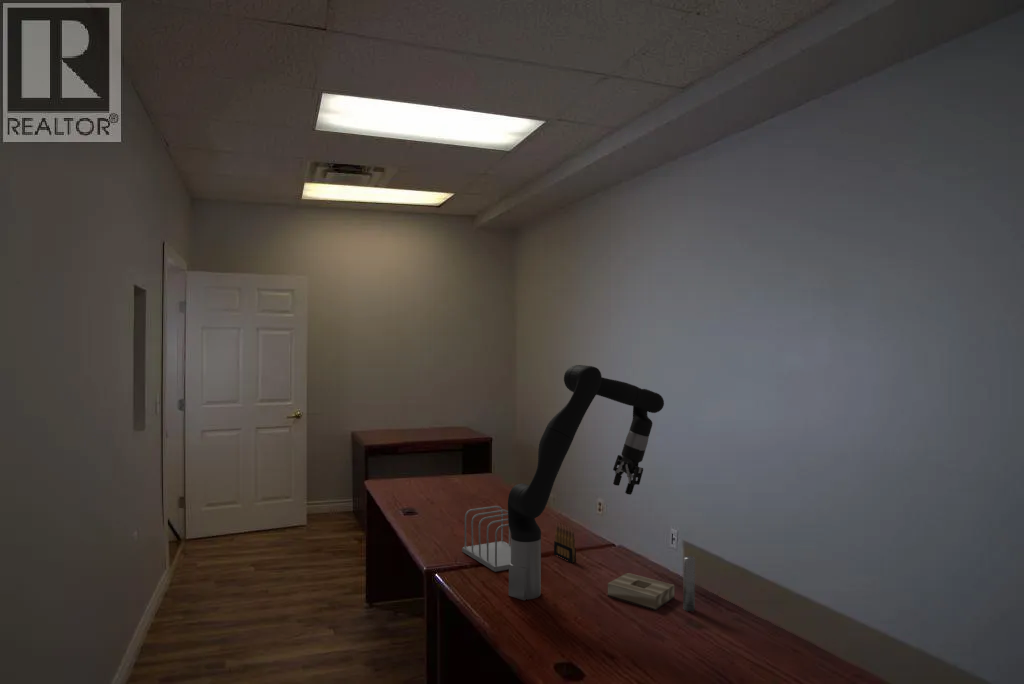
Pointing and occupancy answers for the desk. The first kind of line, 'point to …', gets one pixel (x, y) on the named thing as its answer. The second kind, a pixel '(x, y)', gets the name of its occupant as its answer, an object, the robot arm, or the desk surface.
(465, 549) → the file sorter
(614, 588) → the socket block
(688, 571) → the steel pin
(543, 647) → the desk surface
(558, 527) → the ammunition clip
